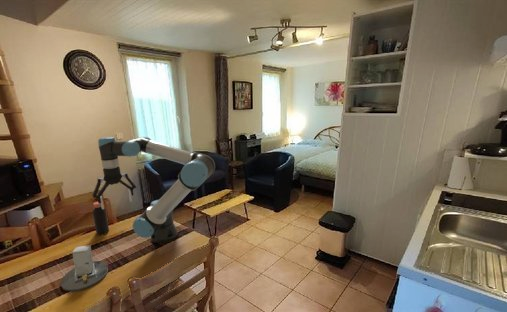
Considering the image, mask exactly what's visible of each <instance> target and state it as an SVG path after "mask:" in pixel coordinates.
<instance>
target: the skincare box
mask: <svg viewBox="0 0 507 312" xmlns="http://www.w3.org/2000/svg"><path fill="white" fill-rule="evenodd" d="M92 253H93V251H92V245H82V246H76V247H75V248H74V249H73V251H72V260H73V265H74V268H75V272H76V275H83V274H89V273H91V271H92V270H93V268H94V266H93V259H94V258H93V254H92Z"/></svg>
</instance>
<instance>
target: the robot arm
mask: <svg viewBox="0 0 507 312" xmlns="http://www.w3.org/2000/svg"><path fill="white" fill-rule="evenodd" d="M97 143H98V149H99V154H100V160H101V165H102V172H103V177H102V178H101V177H98V178H97V180H96V181H97V183H96V185H95V187H94V190H93V193H92V195H91V196H92V197H93V198H95V199H97V202H98V203H99V204H100V203H101V207H102V209H104V208H105V206H104V201H103V196H102V195H103V194H104V192H105V191H106V190H107V188H108V187H109V186H110V185H111V186H112V185H116V184H118V185H119V184H121V185H123V186H125V188H127V190H128V197H129V202H130V203H132V202H133V196H134V190H135V189H136V188H137V186H136V184H134V183H133V181H132V180H131V179H130V177H129V175H128V173H127V172H124V173H121V168H120V166H119V165H120V161H119V157H136V156H138V154H139V153H145V154H149V155H151V156H155V157H159V158H160V159H161V158H162V159H165V160H168V161H172V162H175V163H178V164H181V165H184V166H183V167H182V169H181V170H180V172H179V173H178V175H177V178H178V179H177V180H176V181H175V182H174V183H173V184H172V185H171V186H170V188H169V189H168V190H167V191H166V192H165V193H164V194H163V195H162V196H161V197H160V198H159V199H156V200H153V201H151V202H150V206H148V207H147V208H146V209H145V210H144V212H142V214H140V216H138V217H136V218H135V219H134V220H133V222H132V229H133V231H134V233H135V234H136V235H137V236H138V237H140V238H144V239H148V238H150V240H151V242H152V243H155V244H165V243H169V242H172V241H173V240H174V239H176V238H177V236H178V229H177V227H176V225H175V223H174V214H173V213H174V212H173V210H174V209H175V208H176V207H177V206H178V205H179V204H180V203H181V202H182V201H183V200H184V199H185V198H186V196H188V194H189V193H191V192H192V191H196V190H197V189H199V187H201V185H202V184H204V183H205V181H206V180H207V179H209V178H210V176H212V175H213V174H214V172H215V170H216V163H215V161H214V159H213V158H212V157H211V156H209V155H208V154H205V153H201V152H199V151H194V152H192V151H189V150H185V149H182V148H178V147H174V146H171V145H167V144H164V143H161V142H159V141H158V142H157V141H154V140H152V139H151V138H150V137H148V136H141V137H137V138H133V139H129V140H124V141H122V140H121V141H116V138H115V137H113V136H106V137H100V138H98V142H97ZM122 178H125V179H126V180H127V181H128V183H129V184H130V185H131V186H130V185H129V184H127V183H126V182H124V181H123V180H122ZM103 181H104V182H105V183H104V185H103V186H102V187H101V185H102V183H103ZM100 187H101V189H100ZM99 189H100V190H99Z"/></svg>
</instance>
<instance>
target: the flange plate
mask: <svg viewBox="0 0 507 312" xmlns="http://www.w3.org/2000/svg"><path fill="white" fill-rule="evenodd" d="M93 266H94V268H93V270H92V271H91V273H89V274H83V275H76V272H75V267H73V268H72V269H71V270H69V271H67V273H65V274H64V275H63V276H62V277H61V281H60V286H61V289H62V290H63V291H64V292H65V291H66V292H70V293H71V292H78V291H80V292H81V291H82V290H85V289H88V288H91V287H93V286H95V285H96V284H98V283H99V282H101V281H102V280H103V279H104V278H105V277H106V276H107V274H108V272H109V266H108V264H107V263H106V262H105V261H100V260H95V261H93Z"/></svg>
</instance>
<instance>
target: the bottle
mask: <svg viewBox="0 0 507 312" xmlns="http://www.w3.org/2000/svg"><path fill="white" fill-rule="evenodd" d="M92 205H93V210H92V215H93V222H94V227H95V233H96V235H97V236H102V234H103V235H105V233H106V234H107V233H108V232H109V231H110V229H109V223H108V216H107V210H106V207H104V209H102V207H101V203H100V204H99V203H98V201H95V202H93V203H92Z"/></svg>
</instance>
